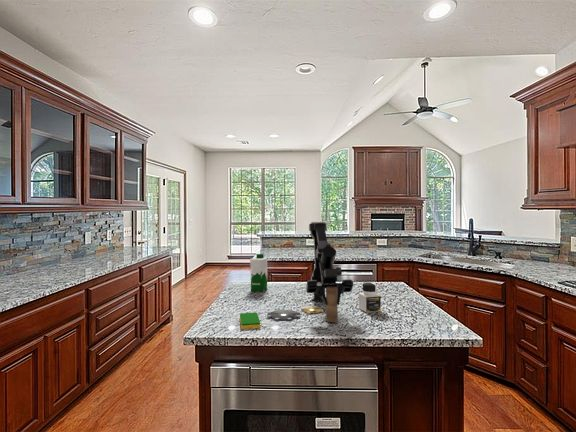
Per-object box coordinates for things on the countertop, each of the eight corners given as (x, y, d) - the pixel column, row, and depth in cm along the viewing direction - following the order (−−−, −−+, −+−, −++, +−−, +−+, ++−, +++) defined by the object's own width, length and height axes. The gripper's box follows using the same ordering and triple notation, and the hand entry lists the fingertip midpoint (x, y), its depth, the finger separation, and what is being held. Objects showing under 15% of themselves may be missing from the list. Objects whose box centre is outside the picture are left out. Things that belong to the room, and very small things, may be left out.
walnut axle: (328, 317, 136) (327, 286, 136) (338, 319, 134) (338, 287, 134) (324, 321, 132) (324, 288, 131) (335, 322, 130) (335, 289, 130)
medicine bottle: (366, 313, 144) (366, 285, 144) (358, 308, 151) (358, 282, 151) (381, 311, 146) (380, 284, 146) (372, 307, 153) (372, 281, 153)
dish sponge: (256, 317, 140) (256, 312, 140) (260, 329, 127) (260, 322, 127) (239, 318, 139) (239, 313, 139) (241, 330, 125) (241, 324, 125)
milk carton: (269, 288, 191) (268, 253, 191) (263, 292, 182) (262, 256, 182) (254, 288, 193) (254, 253, 193) (248, 291, 185) (248, 255, 185)
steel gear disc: (275, 309, 151) (275, 307, 151) (305, 312, 145) (305, 311, 145) (260, 318, 137) (260, 316, 137) (292, 323, 132) (292, 321, 132)
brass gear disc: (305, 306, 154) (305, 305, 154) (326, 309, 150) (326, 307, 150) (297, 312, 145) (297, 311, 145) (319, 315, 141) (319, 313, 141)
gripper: (306, 260, 136) (310, 294, 125) (352, 259, 137) (359, 293, 126) (304, 276, 144) (308, 309, 133) (347, 275, 145) (354, 308, 134)
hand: (332, 304), depth 131 cm, fingers closed on walnut axle, 4 cm apart
